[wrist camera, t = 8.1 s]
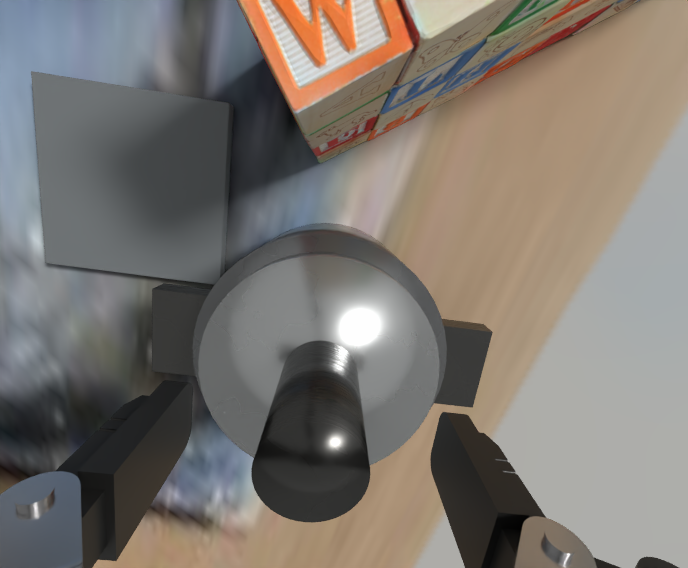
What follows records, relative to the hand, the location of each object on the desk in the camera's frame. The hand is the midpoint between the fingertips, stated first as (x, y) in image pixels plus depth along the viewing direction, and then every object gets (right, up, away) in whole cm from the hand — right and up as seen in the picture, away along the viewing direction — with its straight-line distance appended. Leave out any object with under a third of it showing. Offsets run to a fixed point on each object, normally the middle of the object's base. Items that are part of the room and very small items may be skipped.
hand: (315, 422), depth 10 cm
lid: (0, +1, +4) cm, 4 cm away
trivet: (-11, +10, +9) cm, 17 cm away
